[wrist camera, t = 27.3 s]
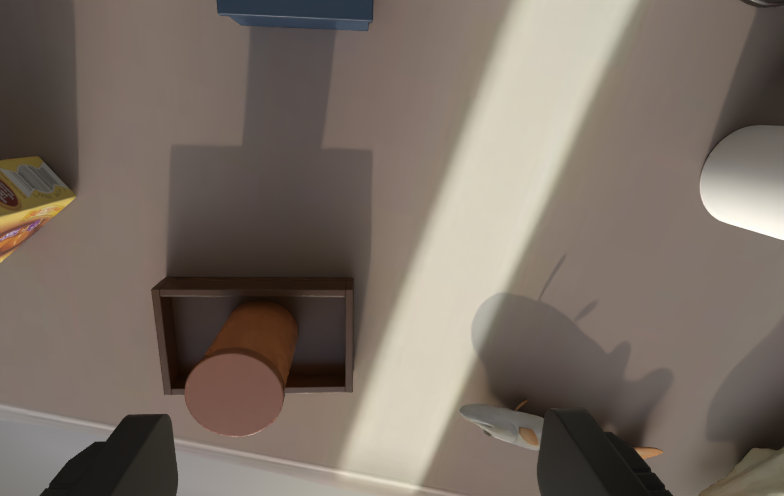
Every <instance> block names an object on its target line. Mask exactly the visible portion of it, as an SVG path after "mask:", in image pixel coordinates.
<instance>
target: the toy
mask: <svg viewBox="0 0 784 496" xmlns="http://www.w3.org/2000/svg"><path fill="white" fill-rule="evenodd" d="M699 496H784V447H783V448H781V449H780V450H772V449H768V448H766V449H759V448H753V449H751V450H750V451H749V452H748V453H747V455H746V456H745V457H744V458H743V459H742V460H741V462H740V463H738V464H737V465H735V466H734V469H733V471H732V472H731V473H729V474H728V475H727V476H726V477H725V478H724V479H722V480H719V481H718V482H717V483H716V484H713V485H711V486H710V487H708V488H707V489H705V490H703V491H702V492H701V493H700V494H699Z"/></svg>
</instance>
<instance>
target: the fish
mask: <svg viewBox="0 0 784 496" xmlns="http://www.w3.org/2000/svg"><path fill="white" fill-rule="evenodd" d="M528 400H529V399H528ZM528 400H525V401H523V402H522V403H521V404H519V405H518V406H517V407H516V409H515V410H510V409H507V408H502V407H494V406H489V405H484V404H467V405H464V406H462V407H461V408H460V409H459V411H460V414H461V416H462V417H463V418H465V419H466V420H469V421H471V422H473V423H475V424H477V425H478V426H480V427H481V428H482V429H483V431H484V433H485V434H487V435H488V436H492V437H495V438H498V439H500V440H503V441H506V442H510V443H513V444H515V445H518V446H521V447H524V448H527V449H531V450H536V451H539V449H540V442H541V435H542V428H543V421H544V418H541V417H539V416H536V415H532V414H528V413H524V412H519V411H517V410H518V409H519V408H520V407H521V406H523V405H524V404H525V403H526V402H527V401H528ZM633 448H634V449H635V450H636V451H637V452H638V454H639V455H640V456H641V457H642V459H645V458H649V457H653V456H656V455H659V454H662V453H663V451H662V450H660V449H657V448H652V447H633Z"/></svg>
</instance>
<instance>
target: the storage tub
mask: <svg viewBox="0 0 784 496" xmlns="http://www.w3.org/2000/svg"><path fill="white" fill-rule="evenodd" d="M217 10H218V14H219V15H220V16H229V17H231V18H232V19H233V20H235V21H236V22H237V23H239V24H240V25H245V26H267V27H290V28H312V29H334V30H356V31H368V26H369V23H372V22H373V0H217Z"/></svg>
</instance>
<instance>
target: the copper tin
mask: <svg viewBox="0 0 784 496" xmlns="http://www.w3.org/2000/svg"><path fill="white" fill-rule="evenodd" d="M297 340H298V328H297V324H296V321H295V319H294V318H293V316H292V315H291V314H290V312H289V311H288V310H287V309H285V308H284V307H283V306H281V305H279V304H277V303H275V302H272V301H267V300H253V301H249V302H246V303H243V304H241V305H240V306H238V307H237V308H236V309H234V311H233V312H232V313H231V314H230V316H229V317H228V319H227V320H226V322H225V323H224V325H223V327H222V328H221V330H220V331H219V333H218V334H217V336H216V338H215V339H214V341H213V342H212V344H211V346H210V347H209V349H208V350H207V352H206V353H205V355H204V357H203V358H202V359H201V360H200V361H199V362H198V363H197V364H196V365H195V367H194V368H193V370H192V371H191V373H190V374H189V376H188V378H187V381H186V384H185V391H184V392H185V401H186V405H187V407H188V409H189V411H190V413H191V415H192V416H193V417H194V419H195V420H196V421H197V422H198V423H199V424H201V425H202V426H203V427H205V428H206V429H208V430H210V431H212V432H214V433H217V434H220V435H224V436H230V437H242V436H248V435H252V434H255V433H258V432H260V431H262V430H264V429H265V428H267V427H268V426H269V425H270V424H272V423H273V422H274V420H275V419H276V418H277V417H278V415H279V413H280V411H281V409H282V406H283V402H284V397H285V386H286V382H287V378H288V374H289V371H290V367H291V363H292V359H293V356H294V352H295V348H296V344H297Z"/></svg>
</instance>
